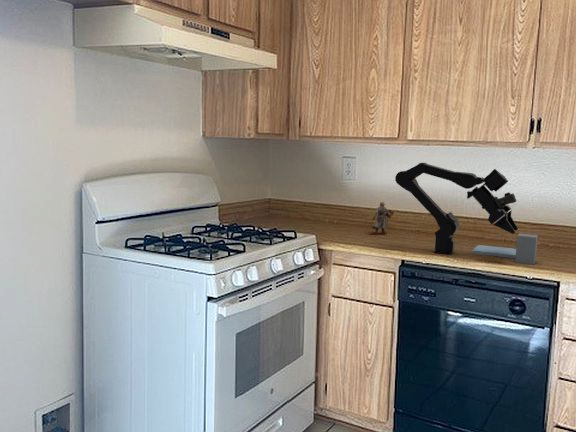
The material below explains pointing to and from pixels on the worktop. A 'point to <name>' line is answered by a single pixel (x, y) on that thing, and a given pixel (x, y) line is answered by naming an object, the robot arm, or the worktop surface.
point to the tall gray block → (526, 248)
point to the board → (495, 251)
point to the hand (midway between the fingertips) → (515, 231)
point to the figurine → (381, 218)
